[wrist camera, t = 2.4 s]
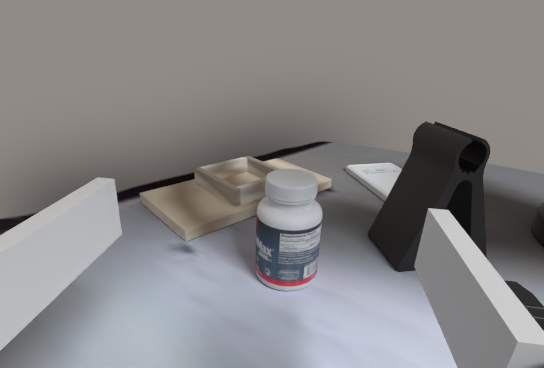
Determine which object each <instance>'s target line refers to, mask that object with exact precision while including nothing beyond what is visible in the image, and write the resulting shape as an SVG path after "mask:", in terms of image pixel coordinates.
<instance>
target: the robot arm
mask: <svg viewBox="0 0 544 368" xmlns="http://www.w3.org/2000/svg"><path fill="white" fill-rule="evenodd" d="M532 231H533V233H534V235H535V236H536V238H537V239H538V240H539V241H540V242H541V243H542V244H543V245H544V203H543V204H542V205H541V206H540V207H539V209H538V211H537V213H536V216H535V219H534V221H533V224H532ZM121 235H122V230H121V223H120V215H119V208H118V201H117V194H116V187H115V180H114V179H110V178H99V177H98V178H96V179H94V180H93V181H91V182H89V183H88V184H86V185H84V186H82V187H81V188H79V189H77V190H76V191H74V192H72V193H71V194H69V195H68V196H66V197H64V198H62V199H61V200H59V201H57V202H56V203H54V204H52V205H51V206H49V207H47V208H45V209H44V210H42V211H40V212H39V213H37V214H35V215H34V216H32V217H30V218H29V219H27V220H25V221H24V222H22V223H20V224H19V225H17V226H15V227H14V228H12V229H10V230H9V231H6V232H3V233H1V234H0V350H2V349H3V348H4V347H5V346H6V345H7V344H8V343H9V342H10V341H11V340H12V339H13V338H14V337H15V336H16V335H17V334H18V333H19V332H20V331H21V330H22V329H23V328H25V327H26V326H27V325H28V324H29V323H30V322H31V321H32V320H33V319H34V318H35V317H36V316H37V315H38V314H39V313H40V312H41V311H42V310H43V309H44V308H45V307H46V306H48V305H49V304H50V303H51V302H52V301H53V300H54V299H55V298H56V297H57V296H58V295H59V294H60V293H61V292H62V291H63V290H64V289H65V288H66V287H67V286H68V285H69V284H71V283H72V282H73V281H74V280H75V279H76V278H77V277H78V276H79V275H80V274H81V273H82V272H83V271H84V270H85V269H86V268H87V267H88V266H89V265H90V264H91V263H92V262H94V261H95V260H96V259H97V258H98V257H99V256H100V255H101V254H102V253H103V252H104V251H105V250H106V249H107V248H108V247H109V246H110V245H111V244H112V243H113V242H114V241H115V240H117V239H118V238H119V237H120V236H121ZM414 267H415V269H416V272H417V274H418V276H419V279H420V281H421V283H422V286H423V288H424V290H425V293H426V295H427V297H428V300H429V302H430V304H431V307H432V309H433V311H434V314H435V316H436V318H437V321H438V323H439V325H440V328H441V330H442V332H443V335H444V337H445V339H446V341H447V344H448V346H449V348H450V351H451V353H452V355H453V358H454V360H455V362H456V365H457V367H458V368H544V306H543V305H542V304H541V303H540V302H539V300H538V299H537V298H536V297H535V296H534V295H533V294H532V293H531V292H529V291H528V290H527V289H525V288H524V287H522V286H521V285H520V284H518V283H517V282H512V281H504V280H503V279H502V277H501V276H500V275H499V274H498V272H497V271H496V270H495V269H494V267H493V266H492V265H491V263H490V262H489V261H488V260H487V258H486V257H485V256H484V255H483V253H482V252H481V251H480V249H479V248H478V247H477V246H476V244H475V243H474V242H473V241H472V239H471V238H470V237H469V236H468V234H467V233H466V232H465V230H464V229H463V228H462V227H461V225H460V224H459V223H458V222H457V220H456V219H455V218H454V216H453V215H452V214H451V213H450V211H449V210H443V209H432V208H428V211H427V215H426V219H425V223H424V228H423V232H422V236H421V240H420V244H419V248H418V252H417V256H416V260H415V265H414Z"/></svg>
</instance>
